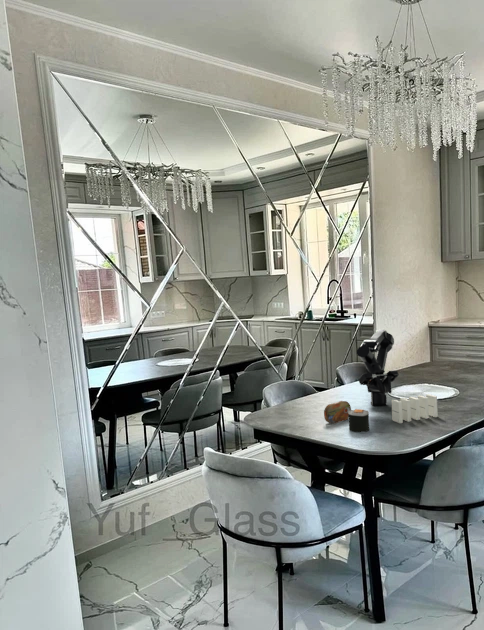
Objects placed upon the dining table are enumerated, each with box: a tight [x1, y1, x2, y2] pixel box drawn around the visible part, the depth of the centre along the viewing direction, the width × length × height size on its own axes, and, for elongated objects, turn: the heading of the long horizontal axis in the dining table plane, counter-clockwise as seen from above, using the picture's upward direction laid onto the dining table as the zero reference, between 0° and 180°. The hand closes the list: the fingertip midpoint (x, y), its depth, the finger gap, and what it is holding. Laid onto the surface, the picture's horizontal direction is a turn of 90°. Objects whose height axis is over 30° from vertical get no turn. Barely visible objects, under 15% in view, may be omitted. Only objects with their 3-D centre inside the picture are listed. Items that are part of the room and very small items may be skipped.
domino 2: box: [399, 397, 412, 423], centre depth 208 cm, size 2×5×9 cm, turn 17°
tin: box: [323, 400, 352, 425], centre depth 213 cm, size 15×3×8 cm, turn 126°
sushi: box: [348, 408, 370, 433], centre depth 199 cm, size 8×8×8 cm
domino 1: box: [391, 399, 404, 424], centre depth 206 cm, size 2×5×9 cm, turn 18°
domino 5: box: [425, 393, 438, 418], centre depth 212 cm, size 2×5×9 cm, turn 18°
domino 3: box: [408, 396, 421, 421], centre depth 209 cm, size 2×5×9 cm, turn 17°
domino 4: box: [417, 395, 430, 420], centre depth 211 cm, size 2×5×9 cm, turn 17°
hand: (387, 393), depth 214 cm, fingers open, 3 cm apart
